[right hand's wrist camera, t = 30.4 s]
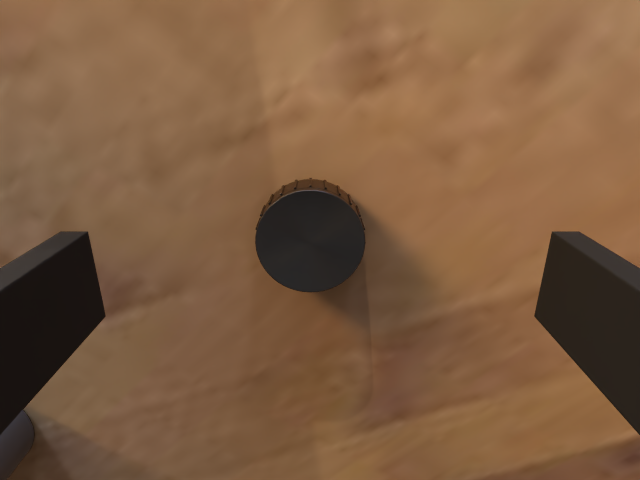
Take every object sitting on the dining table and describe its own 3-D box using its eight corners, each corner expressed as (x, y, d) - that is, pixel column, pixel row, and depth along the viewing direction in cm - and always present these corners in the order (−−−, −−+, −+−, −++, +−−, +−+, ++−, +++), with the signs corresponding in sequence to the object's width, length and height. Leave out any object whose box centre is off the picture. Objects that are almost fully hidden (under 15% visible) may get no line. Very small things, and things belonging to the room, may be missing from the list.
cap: (257, 177, 16) (251, 187, 15) (364, 177, 16) (369, 188, 15) (261, 274, 18) (256, 293, 16) (359, 274, 18) (364, 293, 16)
